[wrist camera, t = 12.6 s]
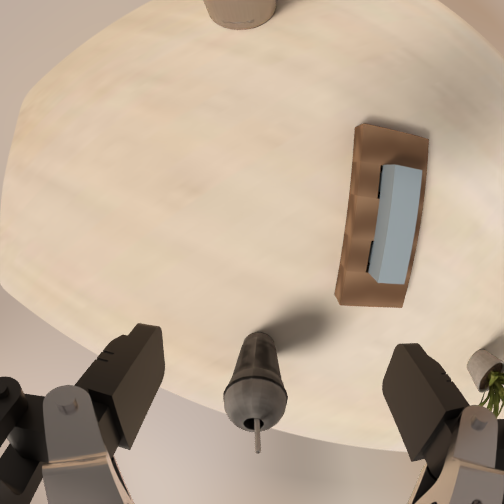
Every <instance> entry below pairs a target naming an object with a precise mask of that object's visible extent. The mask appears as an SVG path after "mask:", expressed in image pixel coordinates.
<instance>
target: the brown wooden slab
mask: <svg viewBox="0 0 504 504" xmlns="http://www.w3.org/2000/svg"><path fill="white" fill-rule="evenodd" d="M428 146H429V139H426V138H423V137H419V136H415V135H412V134H408V133H404V132H400V131H396V130H392V129H387V128H383V127H378V126H374V125H369V124H364V123H363V124H361V125H359V126H357V127H355V134H354V149H353V162H352V173H351V183H350V193H349V202H348V210H347V218H346V226H345V233H344V240H343V247H342V253H341V260H340V266H339V272H338V277H337V283H336V289H335V296H336V298H337V300H338V302H339V304H340V305H346V306H368V307H396V308H402V306H403V303H404V299H405V295H406V291H407V287H408V283H409V279H410V275H411V270H412V266H413V261H414V256H415V251H416V246H417V241H418V235H419V229H420V223H421V216H422V210H423V202H424V194H425V185H426V175H427V162H428ZM383 165H400V166H405V167H409V168H414V169H419V170H422V179H421V189H420V198H419V206H418V214H417V220H416V227H415V233H414V239H413V245H412V250H411V255H410V260H409V265H408V270H407V274H406V279H405V283H404V284H389V283H378V282H377V281H376V280H375V279H374V278H373V277H372V276H371V275H370V274H369V273H368V271H369V266H370V265H367V263H368V258H369V252H370V246H371V241H374V237H375V230H376V223H377V216H378V208H379V200H380V198H377V197H378V188H379V179H380V168H381V167H383Z"/></svg>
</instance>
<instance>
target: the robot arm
mask: <svg viewBox="0 0 504 504" xmlns="http://www.w3.org/2000/svg"><path fill="white" fill-rule="evenodd" d="M203 1H204V3H205V5H206V8H207V10H208V13H209V15H210V17H211V18H212V19H213V21H214V22H216V23H217V24H218V25H221V26H223V27H225V28H229V29H237V30H242V29H250V28H254V27H257V26H259V25H261V24H263V23H265V22H266V21H268V20H269V19H270V18H271V17H272V15H273V14H274V12H275V9H276V0H203ZM164 371H165V361H164V350H163V339H162V330H161V328H160V327H159V326H152V325H147V324H141V323H138V324H137V325H136V326H135V327H134V329H133V330H132V331H131V332H130V334H129V335H128V336H127V335H121V336H119V337H118V338H116V339H114V340H112V341H111V342H110V343H109V344H108V345H107V346H106V348H105V349H104V350H103V352H101V354H100V355H99V356H98V357H97V360H95V361H94V362H93V363H92V364H91V366H90V367H89V368H88V369H87V370H86V372H85V373H84V374H83V375H82V377H81V378H80V379H79V380H78V382H77V383H76V384H75V385H74V386H72V385H65V386H60V387H57V388H55V389H53V390H51V391H50V392H49V393H48V394H47V395H46V396H45V397H44V396H36V395H30V394H24V393H23V391H22V389H21V386H20V384H19V383H18V381H16V380H15V379H13V378H11V377H0V447H1V445H2V444H3V442H4V441H5V439H6V438H7V439H8V440H9V442H10V444H9V446H8V447H7V449H6V450H5V452H4V453H3V455H2V456H1V458H0V504H30V502H31V500H32V498H33V496H34V494H35V492H36V490H37V488H38V486H39V484H40V482H41V480H42V478H43V480H44V486H45V490H46V495H47V500H48V504H134V502H133V500H132V498H131V495H130V493H129V491H128V488H127V486H126V484H125V482H124V479H123V477H122V474H121V472H120V469H119V467H118V464H117V462H116V459H115V457H114V453H115V451H116V449H117V447H118V446H119V447H122V448H125V449H128V450H130V449H131V447H132V445H133V442H134V440H135V438H136V436H137V433H138V431H139V429H140V427H141V425H142V423H143V421H144V418H145V416H146V414H147V412H148V410H149V408H150V406H151V403H152V401H153V399H154V397H155V395H156V393H157V391H158V389H159V387H160V384H161V382H162V380H163V377H164ZM382 390H383V395H384V397H385V399H386V402H387V404H388V406H389V408H390V411H391V413H392V415H393V418H394V420H395V422H396V425H397V427H398V430H399V432H400V434H401V437H402V439H403V442H404V444H405V447H406V449H407V451H408V454H409V457H410V459H411V461H417V460H421V459H425V460H426V462H427V463H426V464H425V465H424V466H423V468H422V470H421V473H420V475H419V478H418V480H417V482H416V485H415V487H414V490H413V492H412V494H411V496H410V499H409V501H408V503H407V504H504V419H496V417H495V415H494V414H493V413H492V412H491V411H490V410H489V409H487V408H485V407H483V406H479V405H471V406H470V405H469V404H468V402H467V401H466V399H465V398H464V396H463V395H462V394H461V392H460V391H459V389H458V388H457V387H456V385H455V384H454V383H453V382H451V379H450V377H449V376H448V374H446V372H445V370H444V369H443V368H442V366H441V365H440V364H439V363H438V362H436V361H435V360H434V359H432V358H431V357H430V356H428V355H427V354H426V352H425V351H424V350H423V348H422V347H421V346H420V345H419V344H418V343H410V344H398V345H397V346H396V347H395V349H394V352H393V355H392V358H391V361H390V363H389V366H388V369H387V371H386V374H385V376H384V379H383V385H382Z"/></svg>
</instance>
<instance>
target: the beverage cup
mask: <svg viewBox="0 0 504 504" xmlns="http://www.w3.org/2000/svg"><path fill="white" fill-rule="evenodd" d="M287 399H288V396H287V392H286V390H285V388H284V385H283V382H282V380H281V375H280V370H279V364H278V359H277V353H276V349H275V346H274V341H273V339H272V338H271V337H270V336H269V335H267V334H264V333H258V332H257V333H252V334H250V335H248V336H247V337H246V338H245V340H244V343H243V345H242V347H241V350H240V354H239V357H238V360H237V363H236V366H235V370H234V373H233V376H232V378H231V380H230V382H229V384H228V386H227V387H226V389H225V391H224V407H225V411H226V413H227V415H228V417H229V419H230V420H231V421H232V422H233V423H234V424H235V425H236V426H237V427H239V428H241V429H243V430H245V431H249V432H255V453H257V454H259V453H261V444H260V431H264V430H267V429H270V428H271V427H273V426H274V425H275V424H277V423H278V422H279V420H280V419H281V417H282V416H283V414H284V412H285V408H286V404H287Z"/></svg>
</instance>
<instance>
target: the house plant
mask: <svg viewBox="0 0 504 504" xmlns="http://www.w3.org/2000/svg"><path fill="white" fill-rule="evenodd" d="M467 369H468V371H469V373H470V375H471V377H472V379H473V381H474V383H475V385H476V387H477V389H478V391H479V392H484V393H485V392H486V391H488V390H489V393H488V396H487V398H486V399H485V400H484V401H483V402H482V400H483V397H484V394H483V397H482V400H481V402H480V404H479V406H483V405H484V404H485V403H486V402H487V400H488V399H489V396H490V399H489V403H488V406H487V409H489V408H490V409H489V410H490V411H492V408H494V411H493V414H494V415H495V417H496V419H497V416H498V415H499V414H500V412H501V410H502V407H503V405H504V387H503V386H502V384H503V385H504V362H503V361H501V360H500V359H498V358H497V357H495V356H493V355H492V354H490V353H489V352H487V351H486V350H478V351H477V352H475V353H474V354H473V355H472V356H471V358H470V359H469V361H468V364H467ZM494 393H495V394H494ZM500 399H501V400H502V402H503V403H502V406H501V409H500V411H499V413H498V410H499V403H500ZM493 404H494V407H493Z"/></svg>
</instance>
